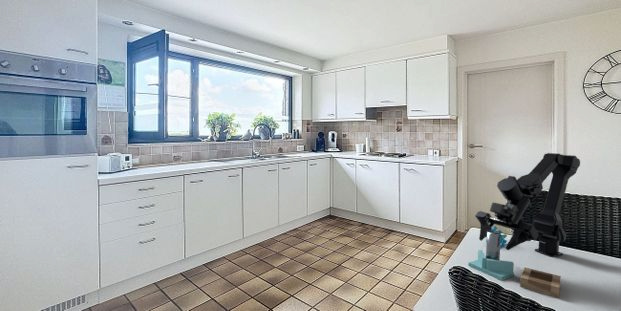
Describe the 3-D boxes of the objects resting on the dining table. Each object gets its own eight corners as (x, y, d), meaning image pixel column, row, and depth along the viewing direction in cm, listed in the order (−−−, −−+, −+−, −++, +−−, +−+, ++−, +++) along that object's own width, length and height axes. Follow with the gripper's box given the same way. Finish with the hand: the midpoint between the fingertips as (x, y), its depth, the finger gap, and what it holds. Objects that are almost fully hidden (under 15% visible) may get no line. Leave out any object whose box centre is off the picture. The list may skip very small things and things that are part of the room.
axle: (495, 264, 102) (496, 230, 101) (501, 269, 98) (503, 234, 97) (483, 264, 103) (484, 230, 102) (489, 269, 99) (490, 234, 98)
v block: (479, 261, 107) (480, 249, 107) (515, 276, 96) (515, 262, 96) (467, 265, 104) (467, 252, 104) (502, 281, 93) (503, 266, 93)
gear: (491, 245, 118) (480, 223, 125) (481, 251, 122) (472, 229, 129) (514, 247, 120) (503, 225, 127) (504, 253, 125) (493, 231, 131)
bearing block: (524, 276, 96) (524, 267, 96) (560, 285, 90) (560, 276, 90) (520, 286, 90) (520, 277, 90) (558, 297, 84) (559, 287, 83)
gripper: (479, 189, 109) (457, 222, 106) (535, 199, 92) (511, 239, 89) (492, 207, 113) (471, 240, 109) (548, 220, 96) (526, 260, 93)
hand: (492, 244), depth 100 cm, fingers open, 9 cm apart
